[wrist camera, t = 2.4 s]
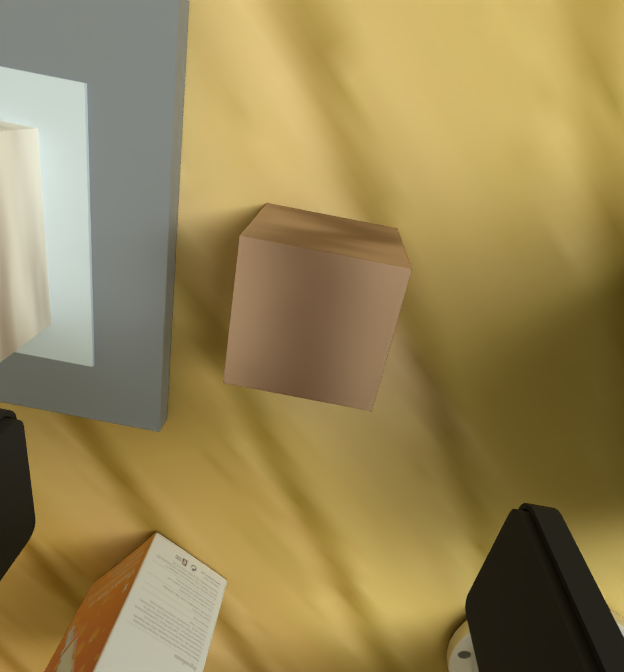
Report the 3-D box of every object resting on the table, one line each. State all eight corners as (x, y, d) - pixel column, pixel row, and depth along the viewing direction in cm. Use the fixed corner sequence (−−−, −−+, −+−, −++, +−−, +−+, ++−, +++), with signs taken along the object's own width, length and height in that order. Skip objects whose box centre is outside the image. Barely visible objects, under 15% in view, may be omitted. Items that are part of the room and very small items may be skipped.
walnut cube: (397, 227, 22) (411, 269, 17) (367, 343, 25) (371, 411, 19) (267, 202, 22) (239, 235, 16) (251, 321, 25) (223, 382, 19)
